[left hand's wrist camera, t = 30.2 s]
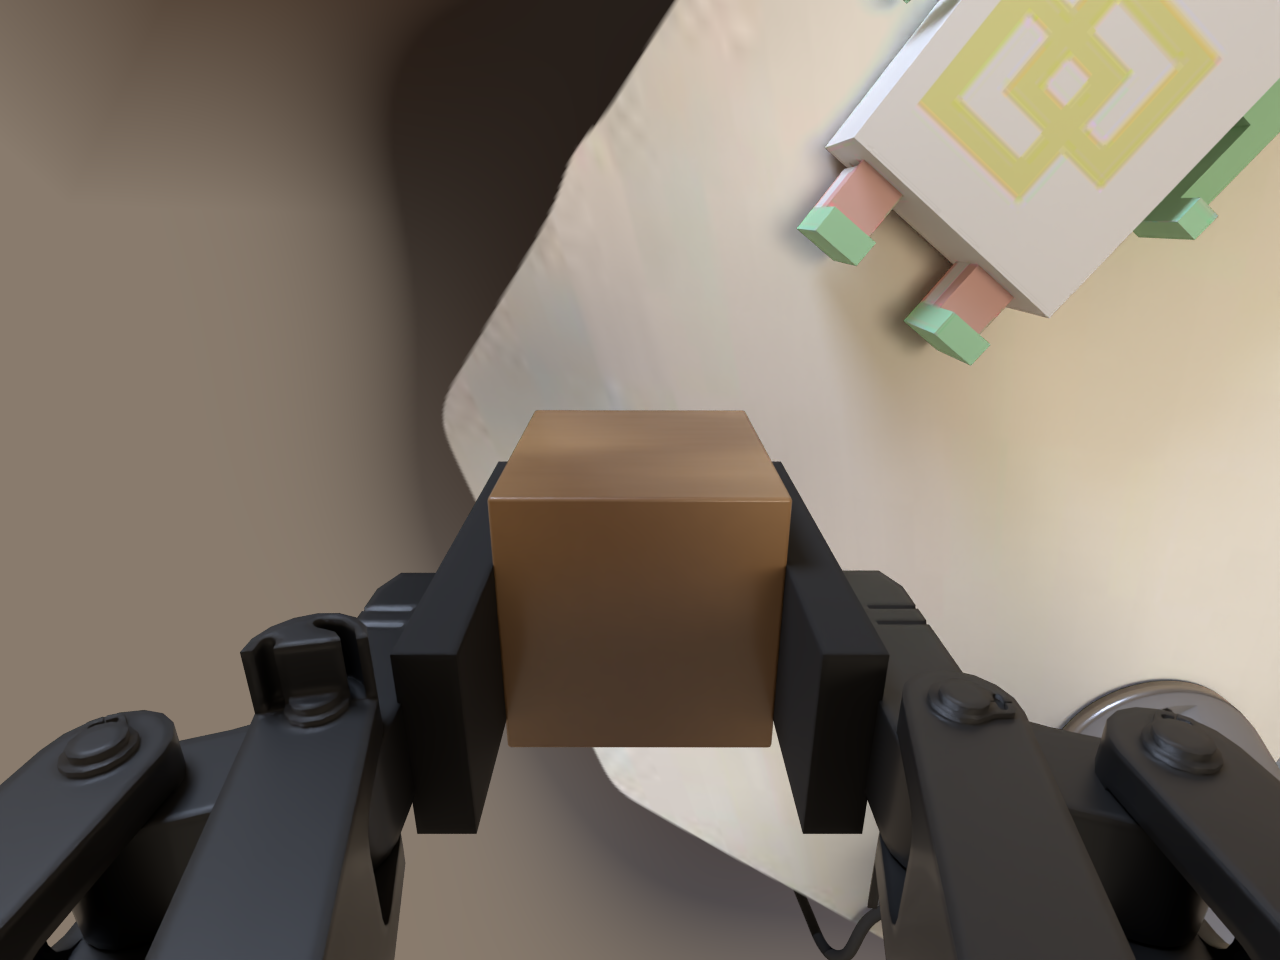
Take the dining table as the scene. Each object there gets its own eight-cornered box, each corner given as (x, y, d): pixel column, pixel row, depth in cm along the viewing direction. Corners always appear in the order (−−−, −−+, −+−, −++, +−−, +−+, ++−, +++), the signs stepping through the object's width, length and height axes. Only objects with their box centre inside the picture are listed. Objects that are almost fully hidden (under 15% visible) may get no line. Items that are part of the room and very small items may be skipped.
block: (745, 409, 14) (793, 498, 9) (734, 598, 15) (772, 748, 11) (534, 409, 14) (486, 498, 9) (544, 598, 15) (507, 748, 11)
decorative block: (1195, -413, 26) (1476, -31, 31) (1093, -297, 32) (1339, 9, 37) (754, 174, 34) (1030, 415, 38) (737, 179, 40) (977, 387, 44)
